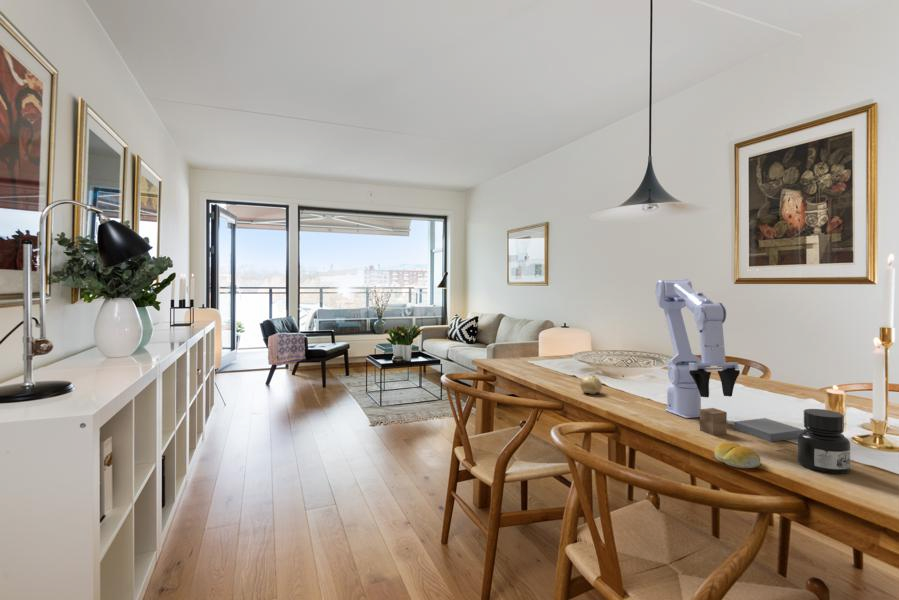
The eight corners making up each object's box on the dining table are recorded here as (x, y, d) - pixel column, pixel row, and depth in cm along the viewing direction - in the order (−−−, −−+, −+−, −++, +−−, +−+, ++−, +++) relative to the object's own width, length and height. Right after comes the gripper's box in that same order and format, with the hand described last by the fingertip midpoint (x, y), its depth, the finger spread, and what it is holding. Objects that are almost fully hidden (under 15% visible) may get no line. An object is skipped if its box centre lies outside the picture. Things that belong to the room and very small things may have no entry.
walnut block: (699, 430, 125) (699, 409, 125) (713, 428, 126) (713, 407, 126) (712, 435, 121) (712, 413, 121) (726, 434, 122) (726, 412, 122)
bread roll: (733, 453, 109) (733, 436, 109) (767, 467, 100) (767, 449, 100) (704, 456, 107) (704, 439, 107) (736, 471, 98) (736, 453, 98)
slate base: (733, 428, 126) (733, 421, 126) (765, 425, 129) (765, 418, 129) (770, 441, 115) (770, 434, 115) (804, 437, 118) (804, 429, 118)
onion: (605, 395, 166) (604, 376, 166) (583, 396, 167) (583, 377, 166) (598, 390, 174) (598, 372, 174) (578, 391, 175) (577, 372, 174)
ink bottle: (824, 477, 94) (824, 420, 94) (786, 461, 103) (786, 409, 103) (862, 472, 96) (863, 417, 96) (822, 457, 105) (822, 406, 104)
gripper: (701, 346, 119) (705, 398, 117) (746, 346, 122) (750, 397, 121) (681, 346, 126) (685, 396, 124) (724, 346, 129) (728, 394, 127)
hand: (716, 396), depth 123 cm, fingers open, 7 cm apart
